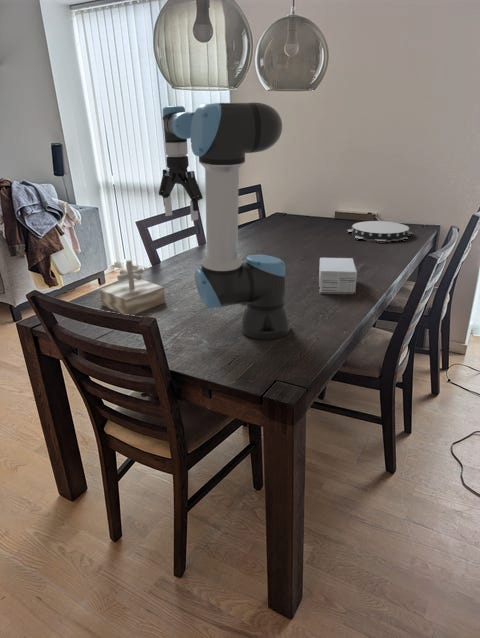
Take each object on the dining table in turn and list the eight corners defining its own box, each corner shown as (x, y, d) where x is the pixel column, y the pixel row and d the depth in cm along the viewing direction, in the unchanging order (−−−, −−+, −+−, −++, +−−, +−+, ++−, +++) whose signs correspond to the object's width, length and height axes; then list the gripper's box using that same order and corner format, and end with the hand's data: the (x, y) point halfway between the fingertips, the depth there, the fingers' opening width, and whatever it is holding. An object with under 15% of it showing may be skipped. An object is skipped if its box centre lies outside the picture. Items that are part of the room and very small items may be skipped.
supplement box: (318, 279, 189) (319, 257, 185) (351, 280, 188) (353, 257, 184) (319, 294, 174) (320, 270, 170) (355, 295, 172) (357, 271, 168)
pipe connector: (152, 287, 167) (149, 259, 163) (129, 295, 160) (126, 267, 156) (134, 281, 173) (131, 255, 169) (111, 289, 166) (108, 261, 162)
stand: (165, 302, 169) (163, 287, 167) (128, 316, 159) (125, 299, 156) (138, 292, 179) (136, 277, 177) (101, 304, 169) (99, 289, 166)
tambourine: (370, 226, 273) (371, 217, 271) (424, 235, 251) (425, 226, 249) (334, 236, 252) (335, 227, 250) (389, 248, 230) (391, 238, 228)
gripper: (210, 156, 156) (213, 220, 164) (161, 153, 171) (166, 212, 179) (194, 157, 151) (198, 223, 159) (145, 155, 166) (151, 215, 174)
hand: (181, 217), depth 169 cm, fingers open, 13 cm apart
